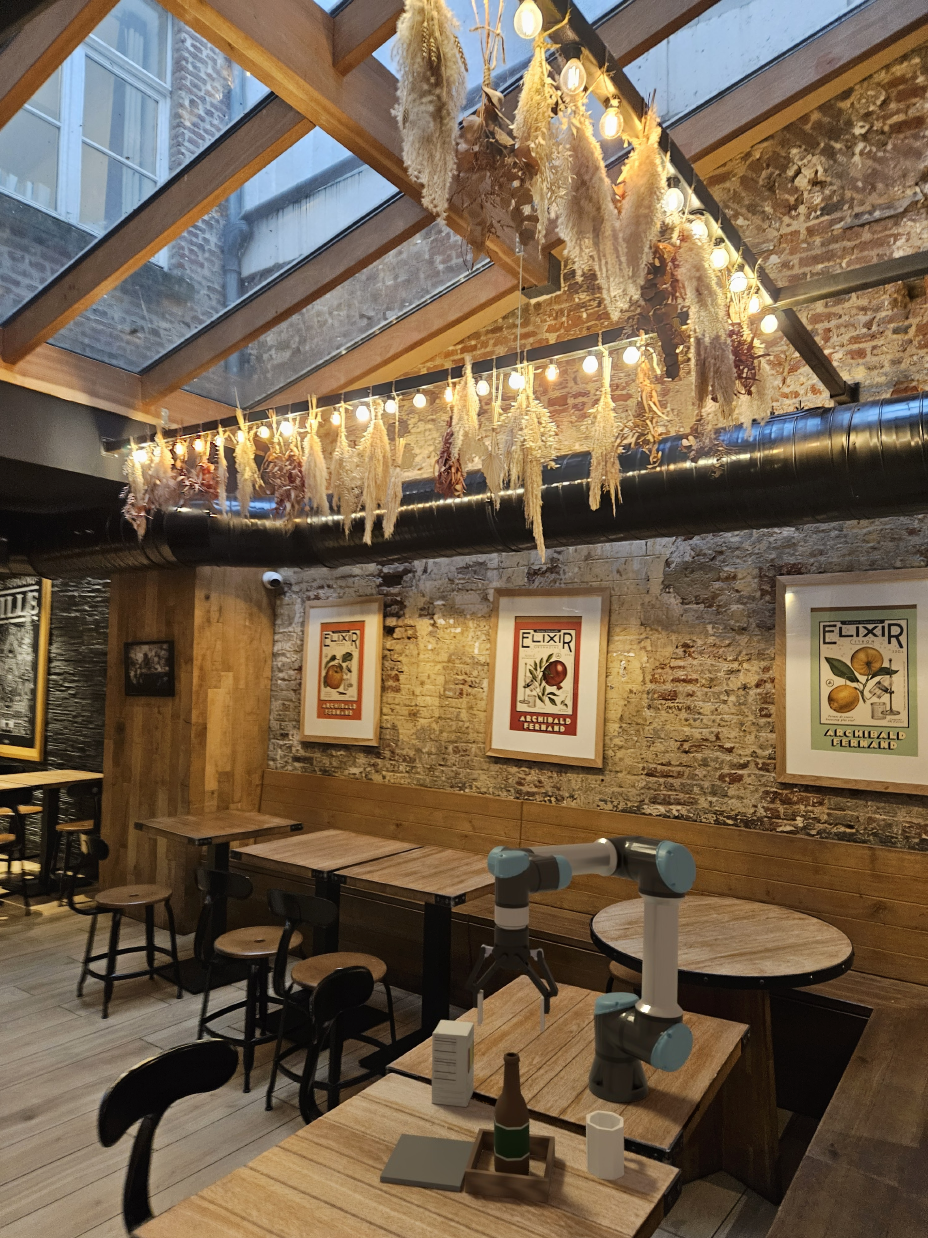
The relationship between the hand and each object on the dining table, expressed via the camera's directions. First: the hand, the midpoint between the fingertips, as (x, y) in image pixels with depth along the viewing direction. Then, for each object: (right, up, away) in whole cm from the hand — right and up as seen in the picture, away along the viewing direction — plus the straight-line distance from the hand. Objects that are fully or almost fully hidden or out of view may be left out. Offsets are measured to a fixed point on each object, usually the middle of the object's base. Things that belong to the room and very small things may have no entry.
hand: (511, 1026), depth 174 cm
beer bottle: (0, -30, -3) cm, 30 cm away
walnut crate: (0, -30, -3) cm, 30 cm away
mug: (+21, -30, +1) cm, 37 cm away
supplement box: (-13, -33, +30) cm, 47 cm away
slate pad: (-18, -30, 0) cm, 35 cm away
